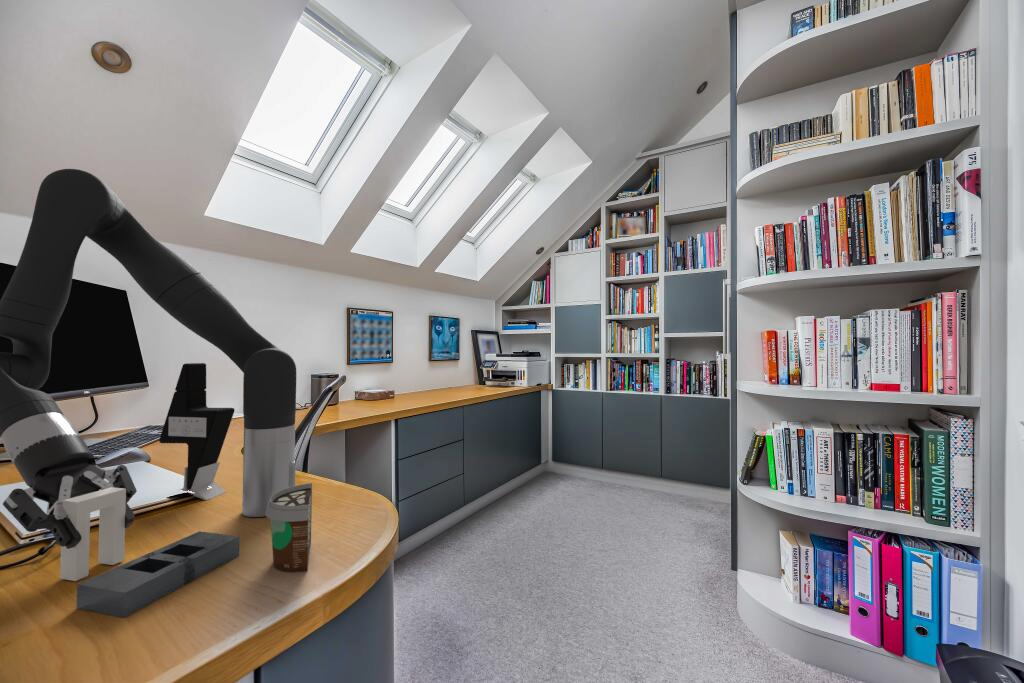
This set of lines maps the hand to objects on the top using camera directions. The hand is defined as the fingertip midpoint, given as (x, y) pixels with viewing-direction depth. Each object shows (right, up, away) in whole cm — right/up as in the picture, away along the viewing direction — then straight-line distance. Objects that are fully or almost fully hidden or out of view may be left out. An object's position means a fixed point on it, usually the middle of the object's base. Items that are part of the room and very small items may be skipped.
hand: (103, 533), depth 61 cm
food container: (+26, -6, +3) cm, 26 cm away
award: (-12, -7, +33) cm, 36 cm away
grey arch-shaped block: (-2, -5, 0) cm, 6 cm away
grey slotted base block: (+11, -5, -2) cm, 13 cm away
